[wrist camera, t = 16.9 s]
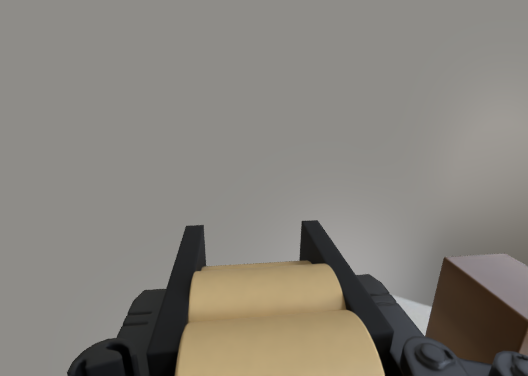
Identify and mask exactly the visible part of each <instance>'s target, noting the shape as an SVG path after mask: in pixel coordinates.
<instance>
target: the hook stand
mask: <svg viewBox="0 0 528 376" xmlns="http://www.w3.org/2000/svg"><path fill="white" fill-rule="evenodd" d="M425 337H429V338H432V339H434V340H436V341H439V342H441V343H443V344H444V345H445V346H447V347H448V348H449V349H450V350H452V351H453V352H454V354H455V355H456V356H457V357H458V358H462V359H466V360H472V361H477V362H482V363H488V364H492V363H493V361H494V358H495V356H496V353H499V352H502V351H514V352H517V353H520V354H523V355H527V356H528V266H526V265H524V264H522V263H521V262H519V261H518V260H516V259H514V258H512V257H511V256H509V255H507V254H505V253H500V254H486V255H485V254H484V255H470V256H455V257H454V256H453V257H444V259H443V263H442V268H441V272H440V276H439V280H438V284H437V289H436V293H435V297H434V302H433V305H432V309H431V314H430V318H429V322H428V326H427V330H426V335H425Z"/></svg>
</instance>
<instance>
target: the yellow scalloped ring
mask: <svg viewBox="0 0 528 376" xmlns="http://www.w3.org/2000/svg"><path fill="white" fill-rule="evenodd" d="M175 376H385V374H384V370H383V367H382V364H381V361H380V358H379V355H378V352H377V350H376V347H375V345H374V342H373V340H372V338H371V336H370V334H369V332H368V330H367V328H366V327H365V325H364V324H363V322H362V321H361V320H360V318H359V317H358V316H357V315H356V314H354V313H353V312H351V311H348V310H346V305H345V300H344V297H343V293H342V290H341V287H340V284H339V281H338V279H337V277H336V275H335V273H334V271H333V270H332V268H331V267H330V266H329V265H327V264H312V263H311V262H309V261H307V260H306V261H289V262H274V263H255V264H238V265H223V266H222V265H221V266H204V267H202V269H201V271H196V272H195V273H194V275H193V277H192V281H191V287H190V294H189V310H188V324H187V325H186V326H185V328H184V331H183V333H182V337H181V340H180V345H179V350H178V356H177V363H176V370H175Z"/></svg>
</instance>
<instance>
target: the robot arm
mask: <svg viewBox="0 0 528 376" xmlns="http://www.w3.org/2000/svg"><path fill="white" fill-rule="evenodd" d="M205 258H206V257H205V241H204V225H196V226H186V228H185V231H184V235H183V238H182V241H181V244H180V247H179V251H178V254H177V257H176V260H175V263H174V266H173V270H172V273H171V276H170V279H169V282H168V286H167V289H156V290H144V291H143V292H142V293H141V294H140V295H139V296H138V297H137V298H136V299H135V300H134V301H133V303H132V305H131V307H130V309H129V311H128V315H127V316H126V318H125V320H124V322H123V326H122V327H121V329H120V331H119V333H118V335H117V338H113V339H106V340H104V341H101V342H99V343H96V344H94V345H92V346H91V347H89V348H87V349H86V350H84V351H83V352H82V353H81V354H80V355H79V356H78V357H77V358H76V359H75V360H74V361H73V362H72V364H71V366H70V368H69V370H68V372H67V374H68V376H175V370H176V363H177V356H178V350H179V345H180V340H181V337H182V333H183V331H184V328H185V326H186V325H187V324H188V310H189V294H190V287H191V281H192V277H193V275H194V273H195V272H196V271H201V269H202V267H204V266H206V259H205ZM306 260H307V261H309V262H311V263H312V264H327V265H329V266H330V267H331V268H332V270H333V271H334V273H335V275H336V277H337V279H338V281H339V284H340V287H341V290H342V293H343V297H344V300H345V305H346V310H348V311H351V312H353V313H354V314H356V315H357V316H358V317H359V318H360V320H361V321H362V322H363V324H364V325H365V327H366V328H367V330H368V332H369V334H370V336H371V338H372V340H373V342H374V345H375V347H376V350H377V352H378V355H379V358H380V361H381V364H382V367H383V370H384V374H385V376H528V356H527V355H523V354H520V353H517V352H514V351H502V352H499V353H496V356H495V358H494V361H493V363H492V364H488V363H482V362H477V361H472V360H466V359H462V358H458V357H457V356H456V355H455V354H454V352H453V351H452V350H450V349H449V348H448V347H447V346H445V345H444V344H443V343H441V342H439V341H436V340H434V339H432V338H429V337H425V336H424V335H423V334H422V333H421V331H420V330H419V329H418V328H417V326H416V325H415V324H414V323H413V321H412V320H411V319H410V318H409V316H408V315H407V314H406V313H405V311H404V310H403V309H402V308H401V307H400V305H399V304H398V303H396V300H395V299H394V298H393V297H392V295H390V294H389V292H388V290H387V289H386V288H385V287H384V285H383V284H382V283H381V282H380V281H378V280H376V279H375V278H374V277H372V276H371V275H369V274H366V275H355V273H354V272H353V271H352V269H351V268H350V266H349V265H348V263H347V262H346V261H345V259H344V258H343V256H342V255H341V253H340V252H339V250H338V249H337V248H336V246H335V245H334V243H333V242H332V240H331V239H330V238H329V236H328V235H327V233H326V232H325V230H324V229H323V227H322V226H321V225H320V223H319V222H318V221H317V220H316V221H302V227H301V244H300V261H306Z"/></svg>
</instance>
